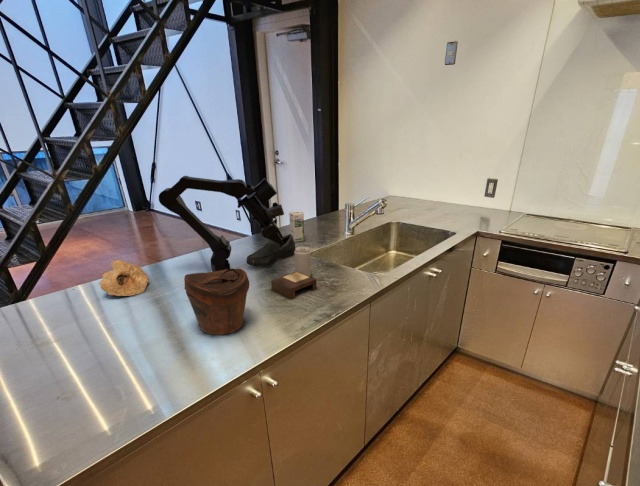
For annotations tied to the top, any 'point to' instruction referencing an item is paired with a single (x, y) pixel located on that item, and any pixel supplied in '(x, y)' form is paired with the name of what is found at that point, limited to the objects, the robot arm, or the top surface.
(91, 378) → the top surface
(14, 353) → the top surface
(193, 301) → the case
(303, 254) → the beverage can
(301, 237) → the syrup box
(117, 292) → the tan lumpy piece
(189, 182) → the robot arm
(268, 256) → the loafer
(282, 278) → the wooden display riser
